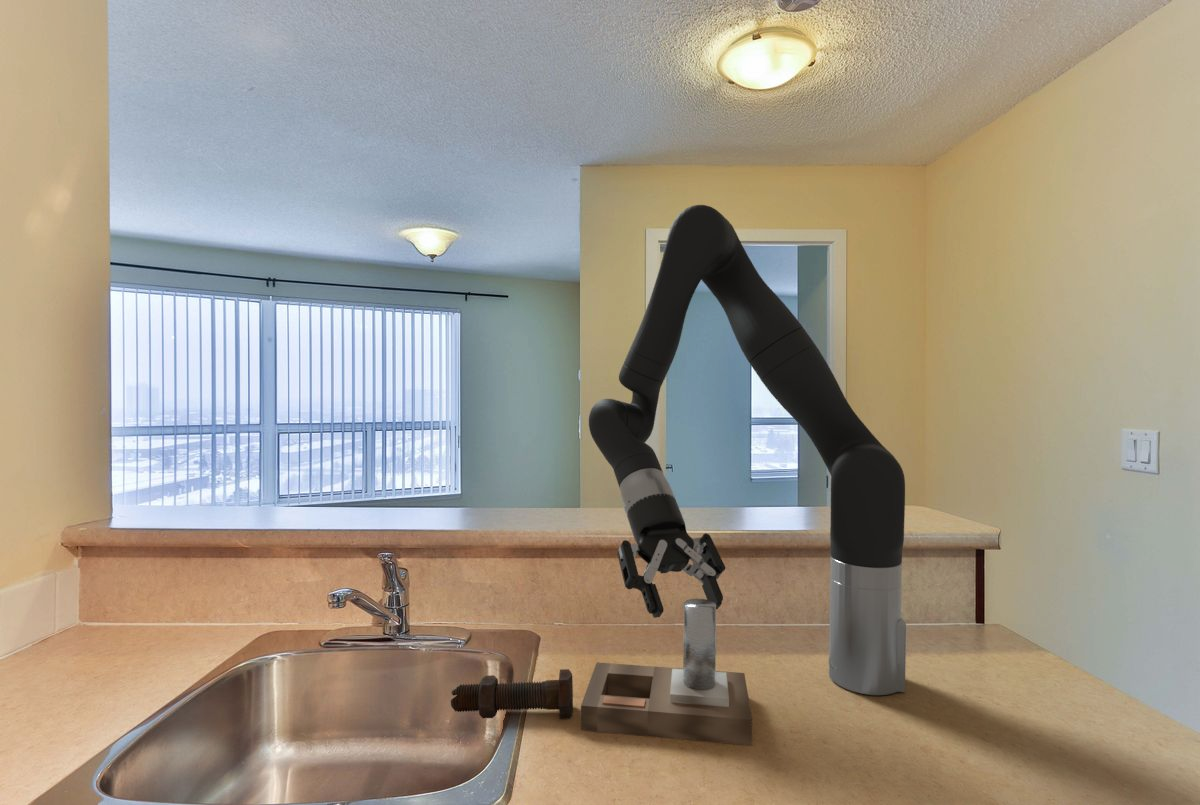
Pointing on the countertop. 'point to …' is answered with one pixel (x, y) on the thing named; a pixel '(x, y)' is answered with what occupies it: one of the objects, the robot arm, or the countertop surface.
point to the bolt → (516, 696)
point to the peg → (699, 644)
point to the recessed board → (666, 705)
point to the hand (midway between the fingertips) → (688, 610)
